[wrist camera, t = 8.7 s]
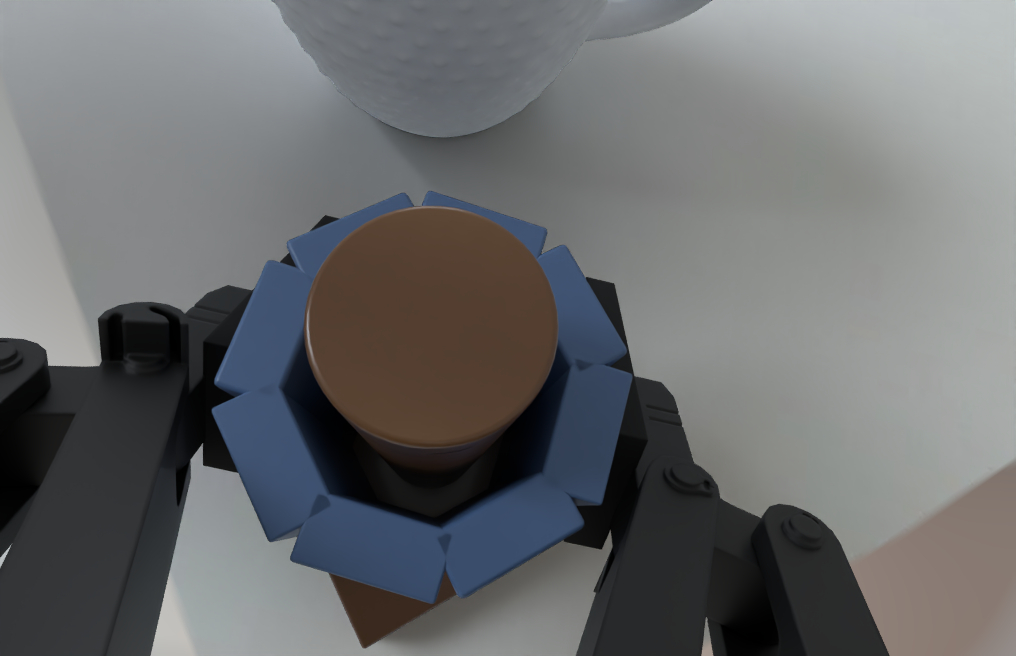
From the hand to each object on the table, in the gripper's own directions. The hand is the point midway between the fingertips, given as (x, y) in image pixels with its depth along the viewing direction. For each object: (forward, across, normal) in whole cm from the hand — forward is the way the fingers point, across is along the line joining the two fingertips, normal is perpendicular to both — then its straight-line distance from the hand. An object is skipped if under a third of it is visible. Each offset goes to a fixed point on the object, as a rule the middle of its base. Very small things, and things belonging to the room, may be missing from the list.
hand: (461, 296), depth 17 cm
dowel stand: (0, 0, -6) cm, 6 cm away
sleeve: (-1, 0, -4) cm, 4 cm away
